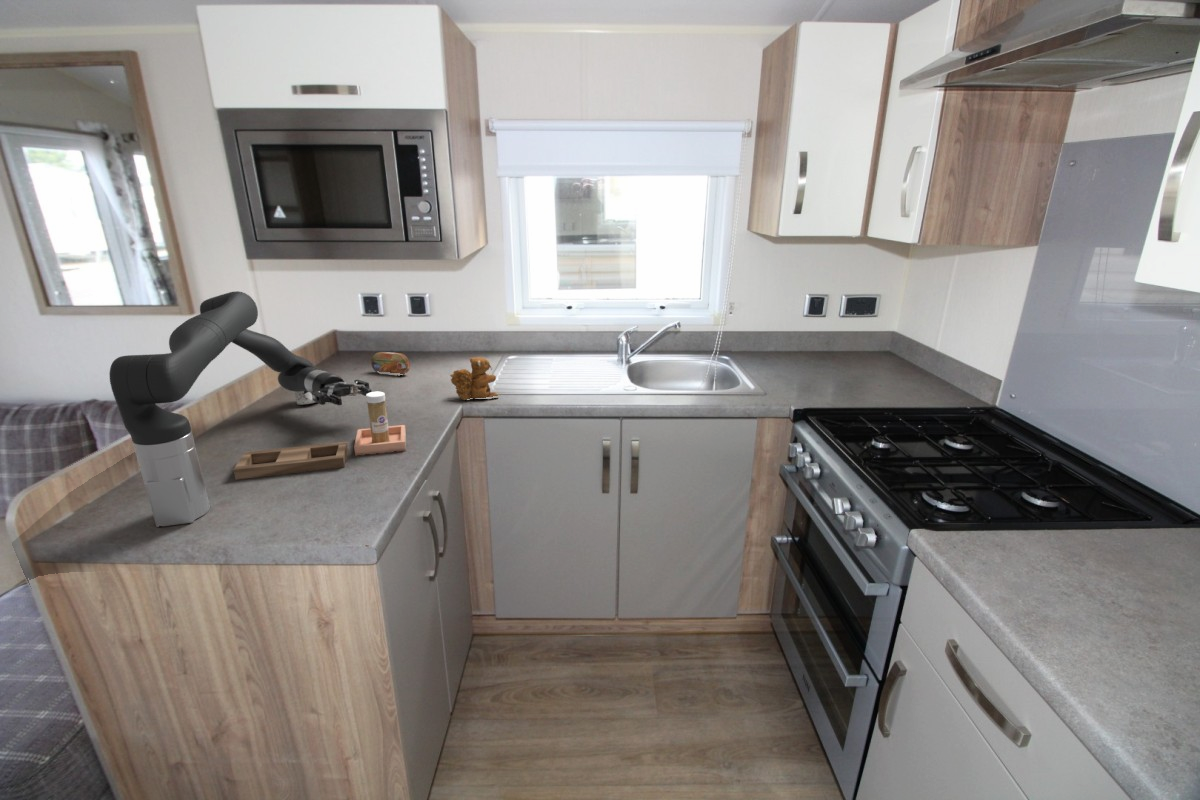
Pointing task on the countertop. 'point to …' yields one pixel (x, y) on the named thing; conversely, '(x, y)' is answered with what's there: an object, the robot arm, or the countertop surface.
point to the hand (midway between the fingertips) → (355, 397)
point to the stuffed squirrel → (474, 380)
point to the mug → (303, 397)
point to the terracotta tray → (367, 447)
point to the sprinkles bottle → (377, 417)
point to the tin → (390, 362)
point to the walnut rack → (291, 460)
